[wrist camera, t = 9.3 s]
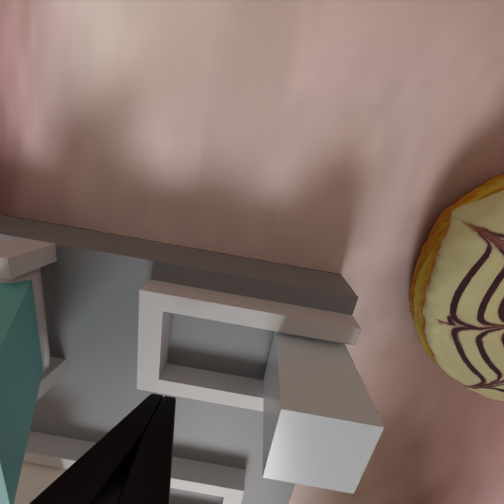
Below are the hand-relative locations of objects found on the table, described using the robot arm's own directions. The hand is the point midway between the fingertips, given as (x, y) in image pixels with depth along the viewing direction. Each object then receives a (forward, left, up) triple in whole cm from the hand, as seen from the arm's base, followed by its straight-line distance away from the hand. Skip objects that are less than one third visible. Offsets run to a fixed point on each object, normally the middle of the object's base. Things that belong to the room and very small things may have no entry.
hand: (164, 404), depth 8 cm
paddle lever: (+7, 0, -2) cm, 8 cm away
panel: (+3, +6, -6) cm, 9 cm away
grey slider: (-5, 0, -4) cm, 6 cm away
